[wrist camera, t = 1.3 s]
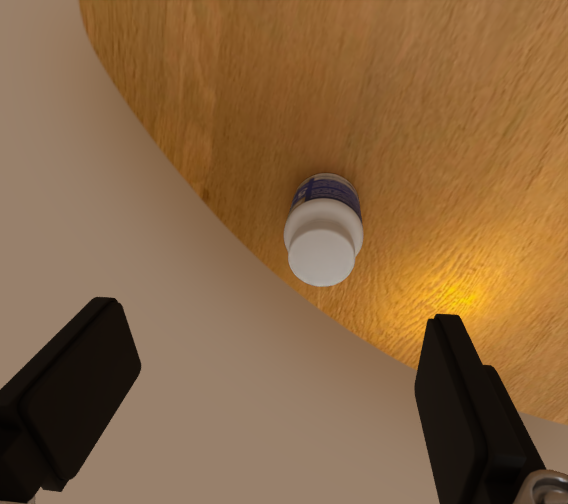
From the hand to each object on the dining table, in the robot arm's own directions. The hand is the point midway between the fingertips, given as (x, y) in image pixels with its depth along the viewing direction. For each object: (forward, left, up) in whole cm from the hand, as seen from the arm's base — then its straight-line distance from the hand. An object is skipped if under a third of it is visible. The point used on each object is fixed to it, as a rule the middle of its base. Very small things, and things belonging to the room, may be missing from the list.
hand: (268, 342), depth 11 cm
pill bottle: (+2, -2, -19) cm, 19 cm away
